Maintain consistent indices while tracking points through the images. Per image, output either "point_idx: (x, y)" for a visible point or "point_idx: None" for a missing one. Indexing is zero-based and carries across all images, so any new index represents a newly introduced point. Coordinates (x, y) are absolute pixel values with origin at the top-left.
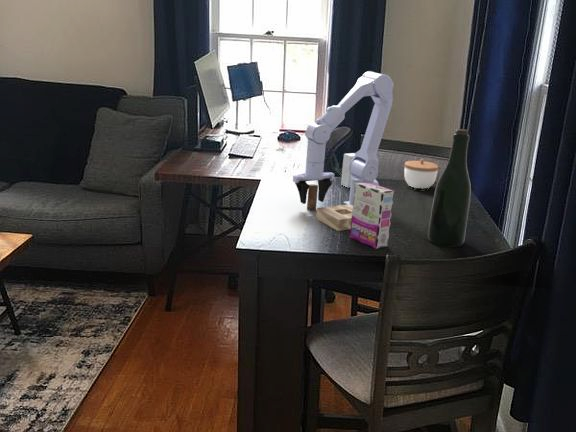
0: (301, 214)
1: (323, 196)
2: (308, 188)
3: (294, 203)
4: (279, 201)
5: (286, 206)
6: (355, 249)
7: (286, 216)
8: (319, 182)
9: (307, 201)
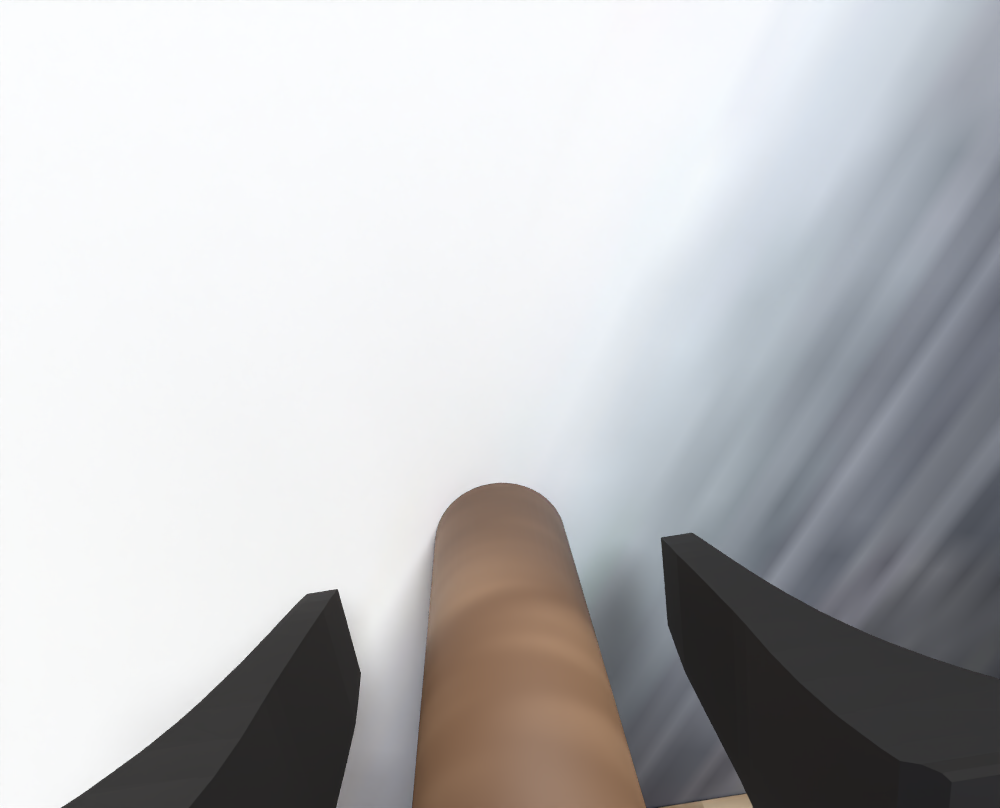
0: None
1: (716, 718)
2: (415, 804)
3: (340, 230)
4: (85, 53)
5: (156, 366)
6: None
7: (63, 748)
8: (847, 804)
9: (431, 596)
